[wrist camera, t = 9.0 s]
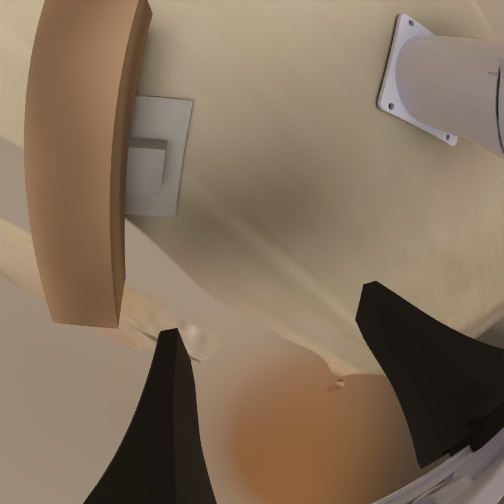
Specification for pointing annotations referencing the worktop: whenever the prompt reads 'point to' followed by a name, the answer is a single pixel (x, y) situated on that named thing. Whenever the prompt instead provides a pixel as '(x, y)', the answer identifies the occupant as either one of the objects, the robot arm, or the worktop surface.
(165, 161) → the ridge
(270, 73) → the worktop surface
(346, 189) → the worktop surface
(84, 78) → the beam
